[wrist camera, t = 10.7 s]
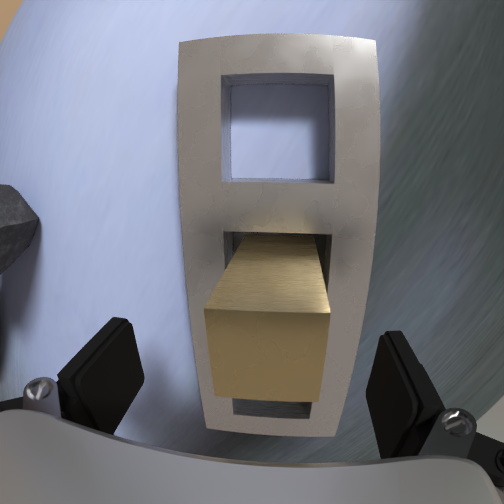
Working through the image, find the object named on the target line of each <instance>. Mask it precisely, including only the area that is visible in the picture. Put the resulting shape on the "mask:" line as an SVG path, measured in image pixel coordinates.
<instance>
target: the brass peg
mask: <svg viewBox="0 0 504 504" xmlns="http://www.w3.org/2000/svg"><path fill="white" fill-rule="evenodd" d="M330 315H331V312H330V307H329V302H328V297H327V293H326V288H325V283H324V279H323V274H322V270H321V266H320V261H319V257H318V253H317V249H316V245H315V240H314V236H293V235H245V236H244V238H243V240H242V242H241V243H240V245H239V247H238V249H237V250H236V252H235V254H234V256H233V257H232V259H231V261H230V263H229V264H228V266H227V268H226V270H225V271H224V273H223V275H222V277H221V278H220V280H219V282H218V284H217V285H216V287H215V289H214V291H213V293H212V294H211V296H210V298H209V300H208V301H207V303H206V305H205V307H204V317H205V326H206V334H207V343H208V351H209V359H210V366H211V374H212V381H213V388H214V395H215V396H218V397H227V398H238V399H250V400H265V401H288V402H319V396H320V390H321V384H322V377H323V371H324V364H325V356H326V349H327V341H328V333H329V324H330Z"/></svg>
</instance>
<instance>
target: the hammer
mask: <svg viewBox="0 0 504 504" xmlns="http://www.w3.org/2000/svg"><path fill="white" fill-rule="evenodd" d="M38 220H39V217H38V216H37V215H36V213H35V212H34V211H33V210H32V209H31V207H30V206H29V205H28V203H27V202H26V201H25V200H24V198H23V197H22V196H21V195H20V193H19V192H18V191H17V190H16V189H14V188H13V187H12V186H10V185H1V184H0V274H1V273H3V272H4V271H5V270H6V269H7V268H8V267H9V266H10V265H11V264H12V263H13V262H14V261H15V260H16V259H17V258H18V257H19V256H20V255H21V254H22V253H23V252H24V250H25V249H26V248H27V247H28V246H29V245H30V243H31V240H32V238H33V235H34V232H35V229H36V226H37V223H38Z"/></svg>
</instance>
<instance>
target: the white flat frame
mask: <svg viewBox="0 0 504 504" xmlns="http://www.w3.org/2000/svg"><path fill="white" fill-rule="evenodd" d="M254 84H306V85H327V86H328V90H329V180H316V179H283V178H232V173H231V86H232V85H254ZM178 168H179V192H180V211H181V227H182V241H183V254H184V265H185V276H186V287H187V296H188V306H189V314H190V323H191V331H192V339H193V346H194V354H195V361H196V368H197V374H198V381H199V387H200V394H201V400H202V406H203V411H204V417H205V422H206V428H209V429H216V430H223V431H231V432H240V433H250V434H262V435H277V436H306V437H327V436H335V434H336V430H337V427H338V424H339V420H340V417H341V413H342V410H343V406H344V403H345V399H346V395H347V391H348V387H349V383H350V379H351V375H352V371H353V367H354V362H355V358H356V353H357V349H358V344H359V339H360V334H361V329H362V324H363V318H364V312H365V307H366V301H367V294H368V288H369V281H370V274H371V266H372V259H373V250H374V241H375V231H376V220H377V207H378V192H379V171H380V99H379V79H378V64H377V53H376V42H375V40H369V39H362V38H354V37H344V36H333V35H318V34H250V35H235V36H224V37H214V38H206V39H198V40H191V41H185V42H179V56H178ZM233 231H235V232H275V233H307V234H326V247H325V262H324V274H323V279H324V283H325V288H326V293H327V297H328V302H329V307H330V312H331V315H330V324H329V333H328V341H327V349H326V356H325V364H324V371H323V377H322V384H321V390H320V396H319V402H288V401H265V400H250V399H238V398H227V397H218V396H215V395H214V388H213V381H212V374H211V366H210V359H209V351H208V343H207V334H206V326H205V317H204V307H205V305H206V303H207V301H208V300H209V298H210V296H211V294H212V293H213V291H214V289H215V287H216V285H217V284H218V282H219V280H220V278H221V277H222V275H223V273H224V271H225V270H226V268H227V266H228V264H229V263H230V261H231V259H232V257H233Z"/></svg>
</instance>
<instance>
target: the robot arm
mask: <svg viewBox="0 0 504 504" xmlns="http://www.w3.org/2000/svg"><path fill="white" fill-rule="evenodd" d="M57 376H58V378H59V380H58V381H57V382H55V381H54V380H53V379H51V378H48V377H40V378H36V379H34V380H32V381H30V382H29V383H28V384H27V385H26V386H25V388H24V391H23V397H19V398H15V399H11V400H6V401H2V402H0V504H504V443H502V442H500V441H497V440H495V439H492V438H490V437H487V436H485V435H482V434H480V433H477V432H476V428H477V424H476V420H475V418H474V417H473V415H471V414H470V413H469V412H468V411H466V410H464V409H460V408H449V409H445V407H444V405H443V403H442V401H441V399H440V397H439V395H438V393H437V391H436V389H435V387H434V385H433V384H432V382H431V380H430V378H429V376H428V374H427V372H426V371H425V369H424V367H423V366H422V364H420V363H419V361H418V359H417V357H416V356H415V354H414V352H413V350H412V349H411V347H410V345H409V343H408V342H407V340H406V338H405V336H404V335H403V333H402V332H401V331H386V332H385V334H384V335H381V336H380V338H379V342H378V347H377V351H376V355H375V359H374V363H373V367H372V371H371V374H370V378H369V381H368V385H367V389H366V400H367V404H368V407H369V411H370V415H371V419H372V423H373V427H374V431H375V435H376V440H377V444H378V448H379V453H380V457H381V459H377V460H367V461H354V462H336V463H272V462H256V461H243V460H233V459H224V458H217V457H209V456H203V455H196V454H190V453H185V452H179V451H174V450H169V449H165V448H160V447H156V446H151V445H147V444H143V443H139V442H135V441H131V440H128V439H124V438H121V437H117V436H114V435H113V434H114V432H115V430H116V429H117V427H118V425H119V424H120V422H121V420H122V418H123V417H124V415H125V413H126V412H127V410H128V408H129V407H130V405H131V403H132V402H133V400H134V398H135V397H136V395H137V393H138V392H139V390H140V388H141V387H142V385H143V383H144V373H143V369H142V365H141V361H140V357H139V352H138V348H137V344H136V339H135V335H134V330H133V326H132V324H131V323H129V321H128V320H127V319H125V318H118V317H113V318H111V319H110V320H109V321H108V322H107V323H106V324H105V325H104V326H103V327H102V328H101V329H100V330H99V332H98V333H97V334H96V335H95V336H94V337H93V338H92V339H91V340H90V341H89V342H88V343H87V344H86V345H85V346H84V347H83V348H82V349H81V350H80V351H79V352H78V353H77V354H76V355H75V356H74V357H73V358H72V359H71V360H70V361H69V362H68V364H67V365H66V366H65V367H64V368H63V369H62V370H61V371H60V372H59V373H58V374H57Z"/></svg>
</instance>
